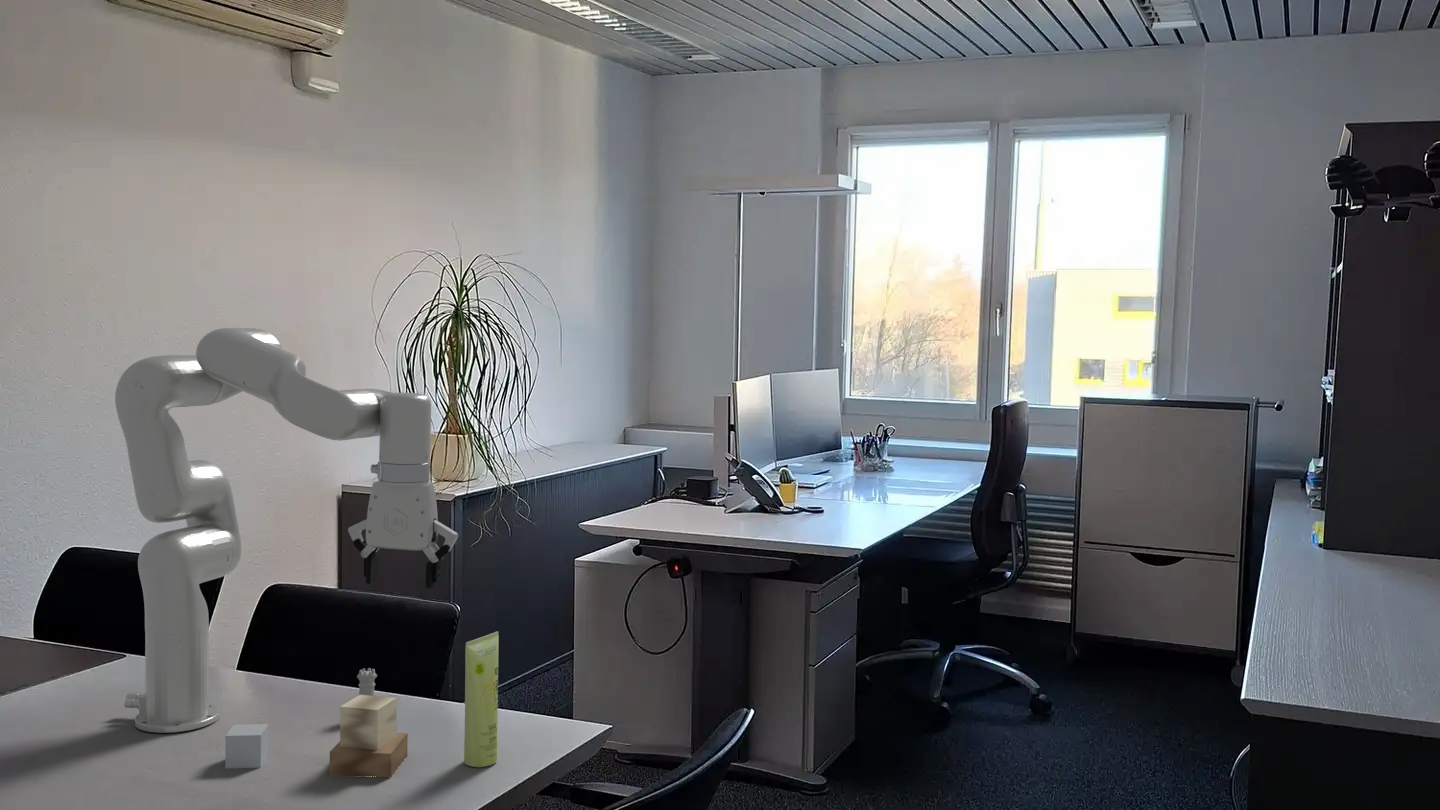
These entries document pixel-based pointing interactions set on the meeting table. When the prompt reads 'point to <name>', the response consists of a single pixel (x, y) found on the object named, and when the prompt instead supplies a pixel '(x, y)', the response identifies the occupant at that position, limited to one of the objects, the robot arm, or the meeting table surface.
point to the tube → (481, 701)
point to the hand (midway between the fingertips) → (401, 584)
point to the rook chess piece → (367, 682)
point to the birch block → (368, 722)
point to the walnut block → (369, 759)
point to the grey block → (246, 746)
